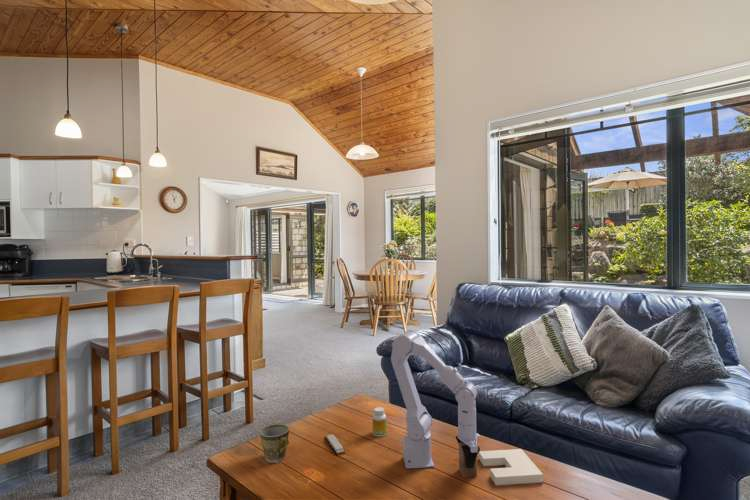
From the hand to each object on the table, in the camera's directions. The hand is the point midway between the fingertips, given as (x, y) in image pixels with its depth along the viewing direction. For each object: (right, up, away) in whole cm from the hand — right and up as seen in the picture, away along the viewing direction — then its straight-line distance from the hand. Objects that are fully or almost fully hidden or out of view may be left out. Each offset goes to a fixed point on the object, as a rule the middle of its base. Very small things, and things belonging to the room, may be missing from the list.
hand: (467, 463), depth 132 cm
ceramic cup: (-64, -4, +10) cm, 65 cm away
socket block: (+14, -3, +1) cm, 14 cm away
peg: (0, -3, 0) cm, 3 cm away
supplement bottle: (-28, -3, +28) cm, 40 cm away
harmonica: (-45, -4, +19) cm, 49 cm away
